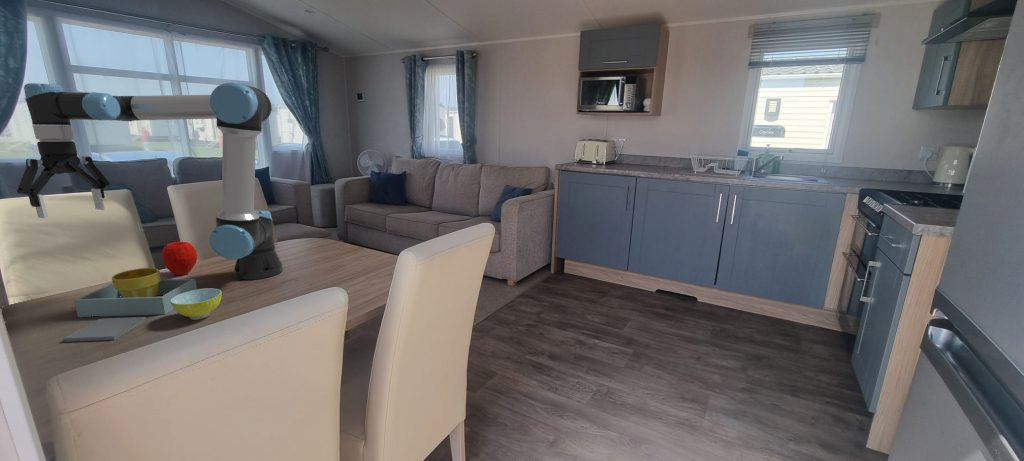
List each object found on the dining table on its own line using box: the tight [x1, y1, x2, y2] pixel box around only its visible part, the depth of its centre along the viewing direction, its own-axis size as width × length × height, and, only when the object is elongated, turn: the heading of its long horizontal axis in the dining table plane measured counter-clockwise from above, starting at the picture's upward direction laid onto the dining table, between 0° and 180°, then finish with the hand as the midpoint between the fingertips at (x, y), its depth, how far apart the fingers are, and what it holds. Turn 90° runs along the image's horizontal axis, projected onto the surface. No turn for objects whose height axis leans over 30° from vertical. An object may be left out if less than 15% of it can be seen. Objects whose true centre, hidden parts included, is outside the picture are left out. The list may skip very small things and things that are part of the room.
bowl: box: [171, 287, 223, 321], centre depth 116 cm, size 11×12×6 cm
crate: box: [73, 278, 198, 318], centre depth 123 cm, size 22×15×5 cm
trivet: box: [62, 316, 147, 343], centre depth 107 cm, size 11×11×1 cm
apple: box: [161, 240, 198, 276], centre depth 148 cm, size 10×10×12 cm
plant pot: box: [111, 267, 162, 298], centre depth 122 cm, size 10×10×10 cm
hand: (73, 213), depth 125 cm, fingers open, 13 cm apart
